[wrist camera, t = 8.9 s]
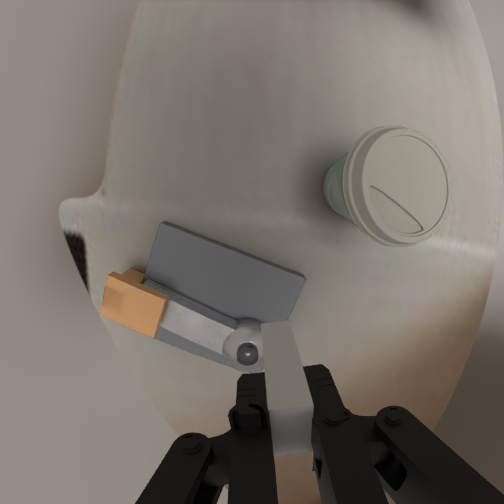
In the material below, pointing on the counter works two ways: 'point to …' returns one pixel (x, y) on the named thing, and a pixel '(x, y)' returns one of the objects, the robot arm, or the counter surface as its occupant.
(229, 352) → the link
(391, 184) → the coffee cup
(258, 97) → the counter surface
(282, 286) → the board
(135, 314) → the block
